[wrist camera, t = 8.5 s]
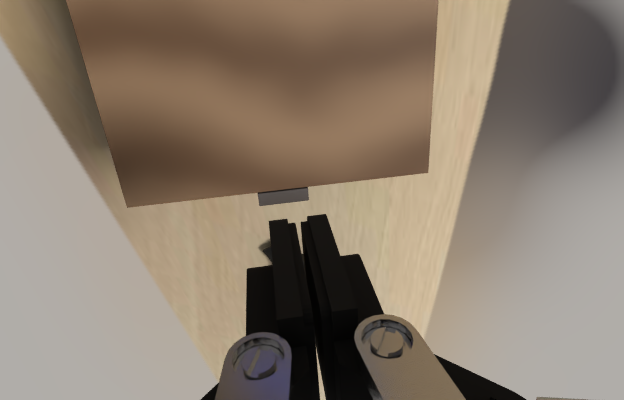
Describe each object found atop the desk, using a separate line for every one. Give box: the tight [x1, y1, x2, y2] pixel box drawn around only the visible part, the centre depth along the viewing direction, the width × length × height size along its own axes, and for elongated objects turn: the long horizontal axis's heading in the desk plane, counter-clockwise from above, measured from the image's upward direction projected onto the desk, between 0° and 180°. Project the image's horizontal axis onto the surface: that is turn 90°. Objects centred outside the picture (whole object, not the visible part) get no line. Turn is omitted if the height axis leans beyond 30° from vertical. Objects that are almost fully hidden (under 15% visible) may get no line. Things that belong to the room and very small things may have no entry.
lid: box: [66, 0, 438, 208], centre depth 22 cm, size 17×18×2 cm
